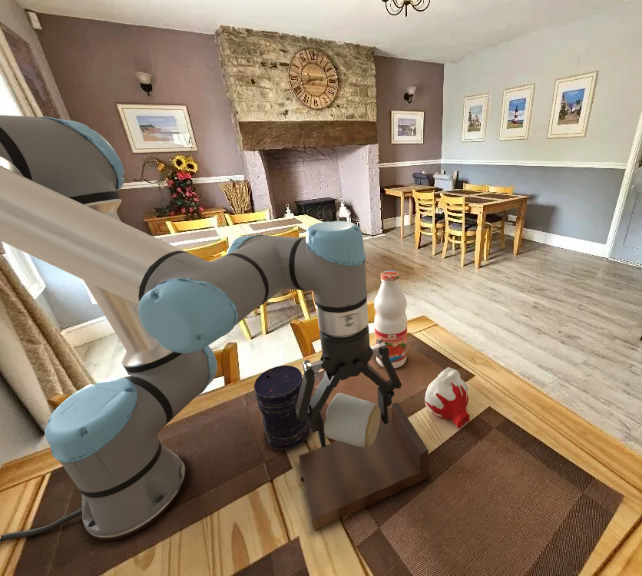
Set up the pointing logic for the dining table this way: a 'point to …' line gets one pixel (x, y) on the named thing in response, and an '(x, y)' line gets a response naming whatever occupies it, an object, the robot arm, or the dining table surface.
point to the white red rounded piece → (448, 397)
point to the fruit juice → (391, 318)
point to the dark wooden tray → (363, 470)
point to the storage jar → (281, 407)
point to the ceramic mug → (352, 420)
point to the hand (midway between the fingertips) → (353, 429)
